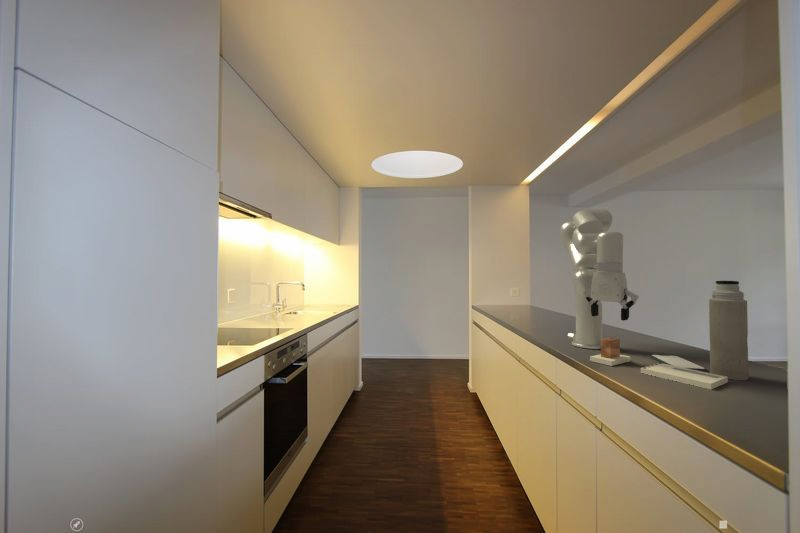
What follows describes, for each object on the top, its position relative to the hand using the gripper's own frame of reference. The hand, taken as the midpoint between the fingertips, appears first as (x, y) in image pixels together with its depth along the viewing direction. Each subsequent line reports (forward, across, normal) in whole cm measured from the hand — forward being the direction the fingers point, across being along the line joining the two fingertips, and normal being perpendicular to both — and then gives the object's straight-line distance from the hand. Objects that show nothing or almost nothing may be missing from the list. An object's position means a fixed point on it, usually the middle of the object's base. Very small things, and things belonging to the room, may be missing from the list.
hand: (609, 317), depth 113 cm
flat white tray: (+14, +21, -1) cm, 25 cm away
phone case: (+15, +14, +15) cm, 25 cm away
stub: (+15, +1, -1) cm, 15 cm away
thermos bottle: (+14, +27, +13) cm, 33 cm away
